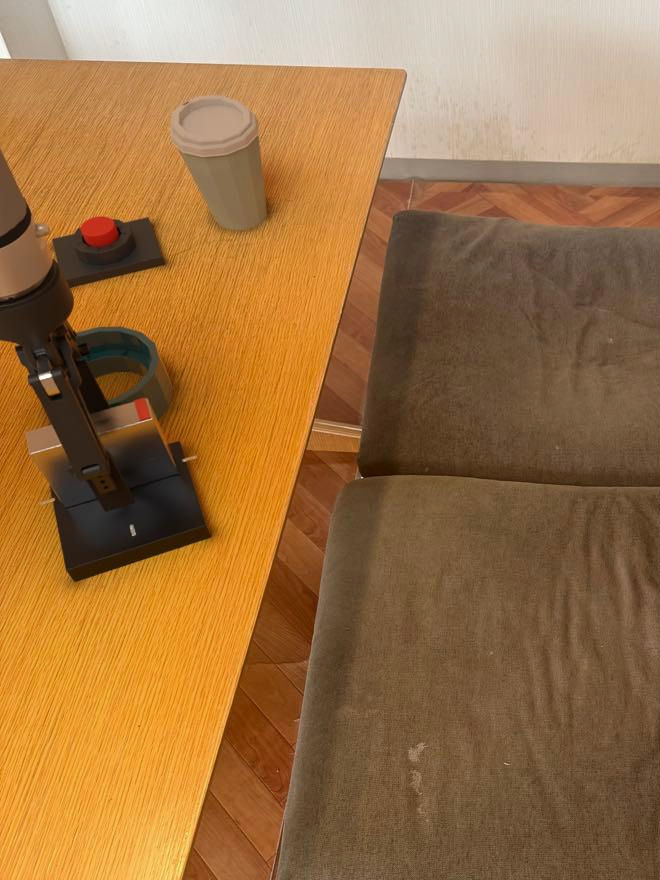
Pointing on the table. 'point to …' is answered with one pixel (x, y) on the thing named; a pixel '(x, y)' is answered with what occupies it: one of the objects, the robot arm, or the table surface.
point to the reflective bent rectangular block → (123, 435)
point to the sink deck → (132, 524)
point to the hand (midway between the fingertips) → (108, 457)
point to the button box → (108, 254)
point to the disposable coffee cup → (222, 157)
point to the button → (99, 231)
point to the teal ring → (129, 364)
